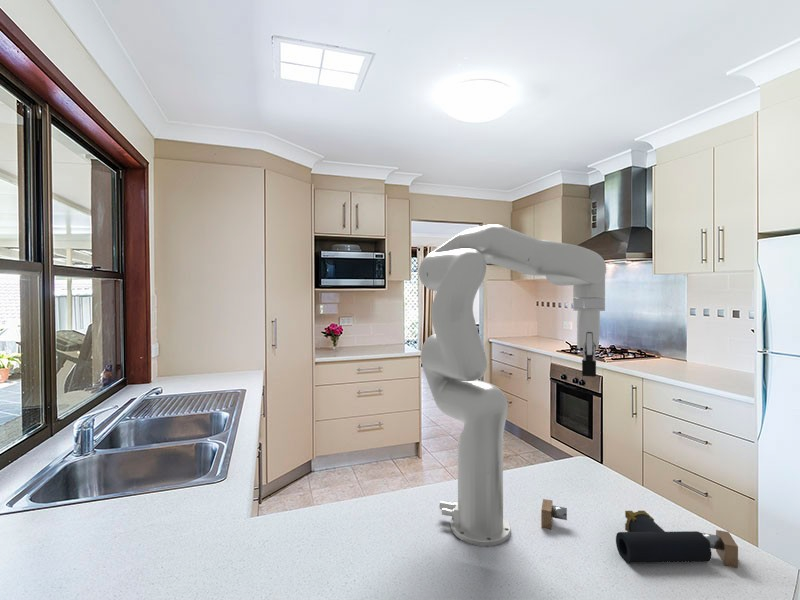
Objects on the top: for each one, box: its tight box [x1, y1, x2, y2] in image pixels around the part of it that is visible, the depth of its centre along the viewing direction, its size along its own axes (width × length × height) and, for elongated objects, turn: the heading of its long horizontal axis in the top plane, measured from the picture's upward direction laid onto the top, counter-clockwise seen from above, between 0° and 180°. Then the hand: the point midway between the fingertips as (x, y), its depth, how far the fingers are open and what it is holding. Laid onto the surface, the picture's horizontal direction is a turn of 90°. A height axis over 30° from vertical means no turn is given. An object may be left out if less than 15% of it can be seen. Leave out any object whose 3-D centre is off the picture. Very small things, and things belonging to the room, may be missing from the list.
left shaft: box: [540, 498, 568, 531], centre depth 90 cm, size 5×5×4 cm
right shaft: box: [699, 529, 739, 569], centre depth 78 cm, size 5×5×4 cm
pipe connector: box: [615, 510, 713, 564], centre depth 81 cm, size 12×5×15 cm
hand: (589, 375), depth 107 cm, fingers closed
